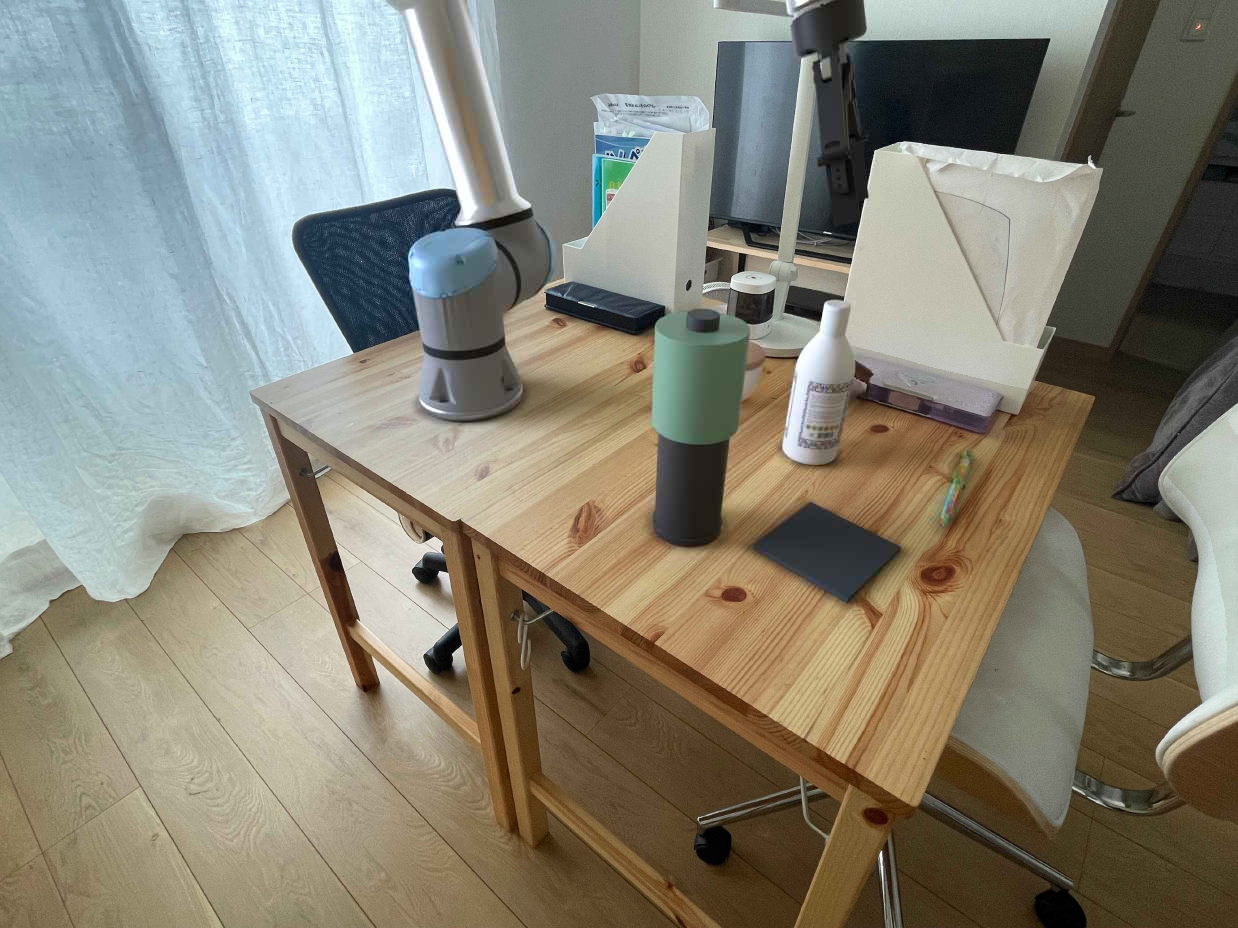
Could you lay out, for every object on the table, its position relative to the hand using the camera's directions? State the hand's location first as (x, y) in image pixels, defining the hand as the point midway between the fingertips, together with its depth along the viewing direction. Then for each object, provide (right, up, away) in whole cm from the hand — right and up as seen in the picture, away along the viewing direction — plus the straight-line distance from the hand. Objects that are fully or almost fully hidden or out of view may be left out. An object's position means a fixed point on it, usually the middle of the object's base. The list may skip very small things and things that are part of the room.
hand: (852, 211), depth 76 cm
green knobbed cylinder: (-21, -26, -13) cm, 36 cm away
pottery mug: (+4, -21, +20) cm, 29 cm away
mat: (-6, -39, -9) cm, 41 cm away
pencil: (+12, -34, -1) cm, 36 cm away
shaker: (-21, -37, -6) cm, 43 cm away
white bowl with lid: (-12, -21, +20) cm, 31 cm away
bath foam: (-3, -29, +7) cm, 30 cm away
